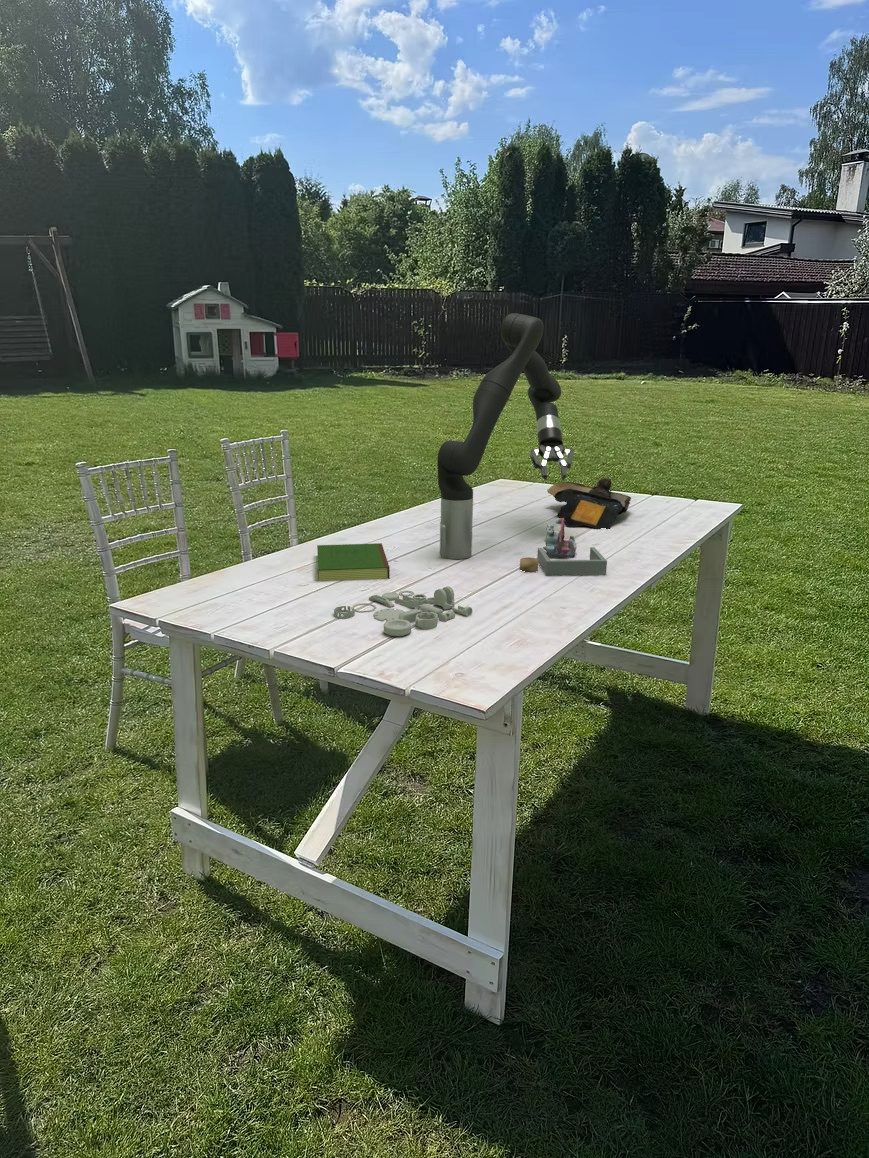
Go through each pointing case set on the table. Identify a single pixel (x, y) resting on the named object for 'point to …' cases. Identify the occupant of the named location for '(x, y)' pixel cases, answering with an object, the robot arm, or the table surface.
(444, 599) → the robot parts
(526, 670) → the table surface
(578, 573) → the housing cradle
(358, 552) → the hardcover book
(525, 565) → the tan rounded lump
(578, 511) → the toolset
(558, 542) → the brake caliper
